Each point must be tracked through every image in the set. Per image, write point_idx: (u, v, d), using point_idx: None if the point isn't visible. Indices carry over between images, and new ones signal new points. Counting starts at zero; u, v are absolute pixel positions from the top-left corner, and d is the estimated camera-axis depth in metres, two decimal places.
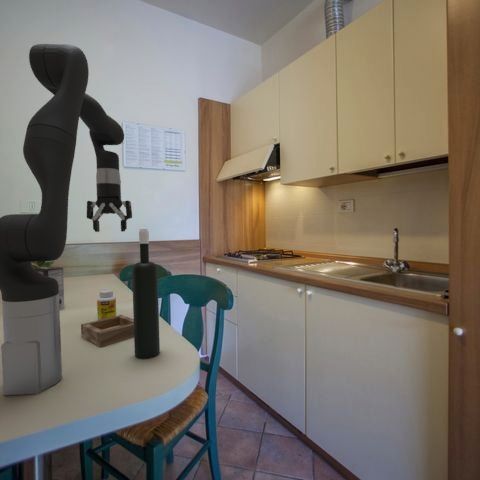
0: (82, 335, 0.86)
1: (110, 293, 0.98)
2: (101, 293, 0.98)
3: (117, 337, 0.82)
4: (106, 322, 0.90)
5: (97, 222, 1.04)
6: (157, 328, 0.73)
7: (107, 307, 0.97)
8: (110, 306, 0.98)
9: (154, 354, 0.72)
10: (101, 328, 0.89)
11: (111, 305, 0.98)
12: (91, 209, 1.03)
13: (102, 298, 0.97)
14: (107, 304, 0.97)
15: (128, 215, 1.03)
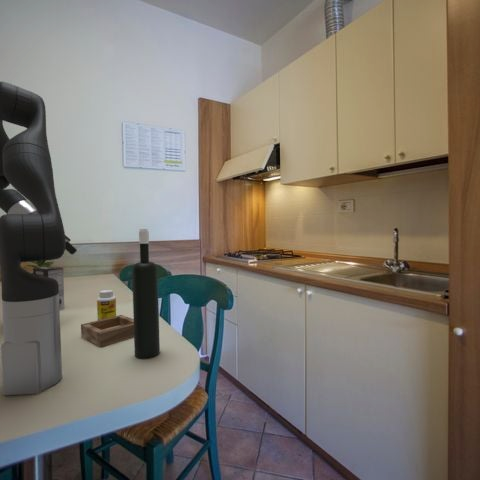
0: (82, 335, 0.86)
1: (110, 293, 0.98)
2: (101, 293, 0.98)
3: (117, 337, 0.82)
4: (106, 322, 0.90)
5: None
6: (157, 328, 0.73)
7: (107, 307, 0.97)
8: (110, 306, 0.98)
9: (154, 354, 0.72)
10: (101, 328, 0.89)
11: (111, 305, 0.98)
12: None
13: (102, 298, 0.97)
14: (107, 304, 0.97)
15: (68, 238, 1.04)
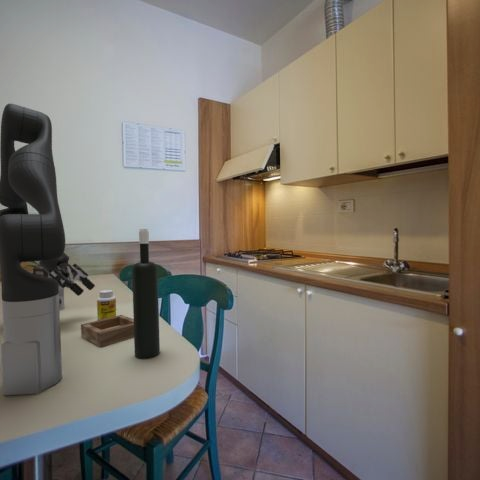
0: (82, 335, 0.86)
1: (110, 293, 0.98)
2: (101, 293, 0.98)
3: (117, 337, 0.82)
4: (106, 322, 0.90)
5: None
6: (157, 328, 0.73)
7: (107, 307, 0.97)
8: (110, 306, 0.98)
9: (154, 354, 0.72)
10: (101, 328, 0.89)
11: (111, 305, 0.98)
12: None
13: (102, 298, 0.97)
14: (107, 304, 0.97)
15: (86, 273, 1.05)
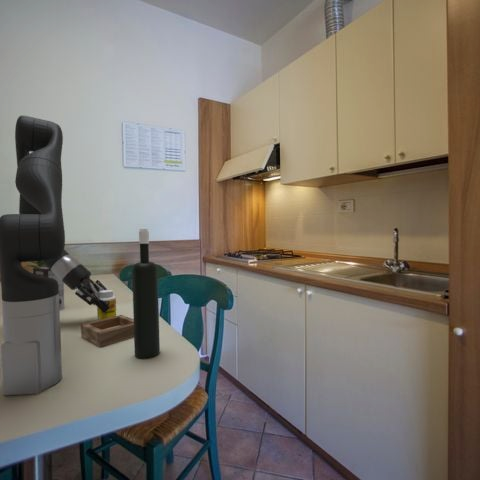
0: (82, 335, 0.86)
1: (110, 293, 0.98)
2: (101, 293, 0.98)
3: (117, 337, 0.82)
4: (106, 322, 0.90)
5: None
6: (157, 328, 0.73)
7: None
8: (110, 306, 0.98)
9: (154, 354, 0.72)
10: (101, 328, 0.89)
11: (111, 305, 0.98)
12: None
13: (102, 298, 0.97)
14: (107, 304, 0.97)
15: None
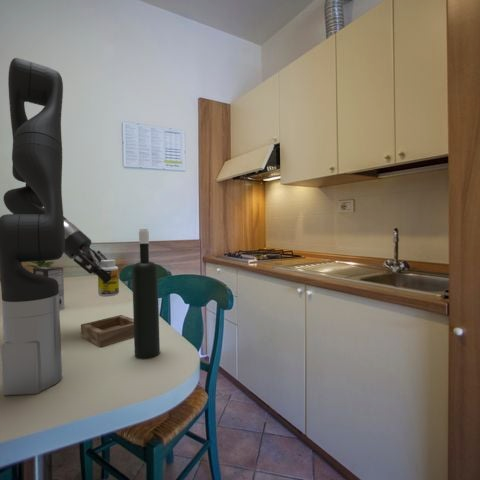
0: (82, 335, 0.86)
1: (112, 262, 0.89)
2: (102, 262, 0.88)
3: (117, 337, 0.82)
4: (106, 322, 0.90)
5: None
6: (157, 328, 0.73)
7: None
8: (112, 276, 0.88)
9: (154, 354, 0.72)
10: (101, 328, 0.89)
11: (114, 276, 0.88)
12: None
13: (103, 267, 0.88)
14: (109, 274, 0.88)
15: None
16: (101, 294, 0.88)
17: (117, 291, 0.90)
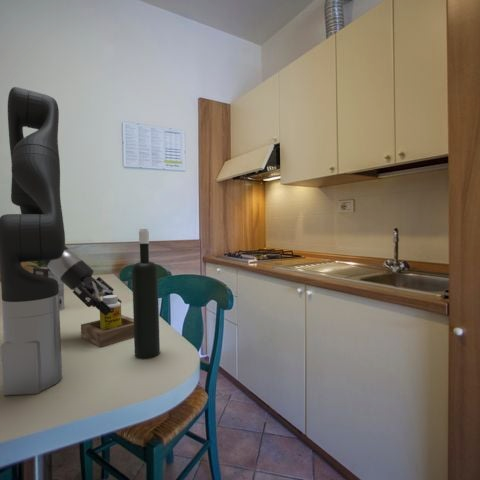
0: (82, 335, 0.86)
1: (115, 299, 0.86)
2: (104, 299, 0.85)
3: (117, 337, 0.82)
4: None
5: None
6: (157, 328, 0.73)
7: (111, 315, 0.84)
8: (114, 314, 0.85)
9: (154, 354, 0.72)
10: None
11: (116, 313, 0.85)
12: None
13: None
14: (112, 311, 0.84)
15: (111, 288, 0.93)
16: None
17: None
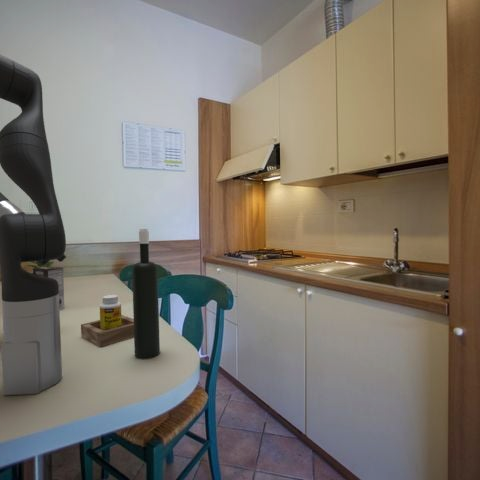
0: (82, 335, 0.86)
1: (115, 299, 0.86)
2: (104, 299, 0.85)
3: (117, 337, 0.82)
4: None
5: None
6: (157, 328, 0.73)
7: (111, 315, 0.84)
8: (114, 314, 0.85)
9: (154, 354, 0.72)
10: None
11: (116, 313, 0.85)
12: None
13: (106, 305, 0.85)
14: (112, 311, 0.84)
15: None
16: None
17: None
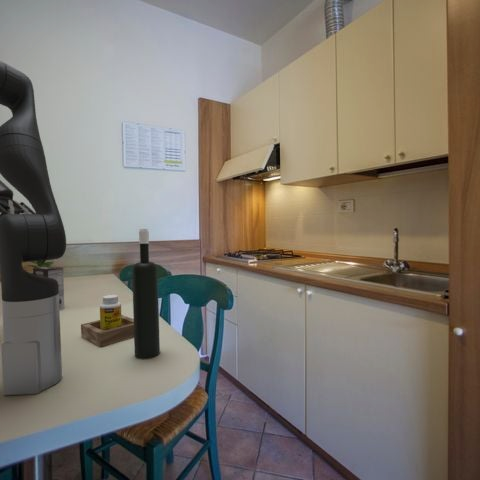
0: (82, 335, 0.86)
1: (115, 299, 0.86)
2: (104, 299, 0.85)
3: (117, 337, 0.82)
4: None
5: None
6: (157, 328, 0.73)
7: (111, 315, 0.84)
8: (114, 314, 0.85)
9: (154, 354, 0.72)
10: None
11: (116, 313, 0.85)
12: None
13: (106, 305, 0.85)
14: (112, 311, 0.84)
15: (35, 213, 0.95)
16: None
17: None
